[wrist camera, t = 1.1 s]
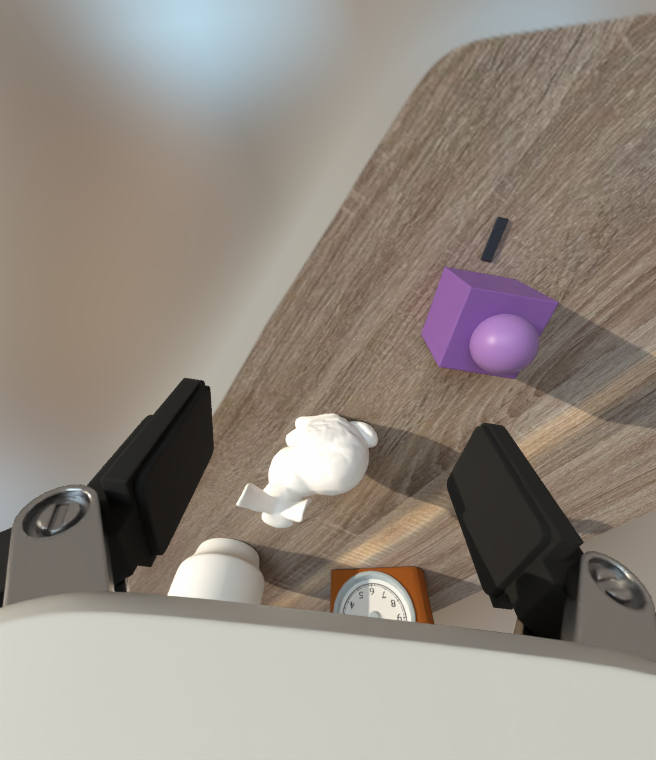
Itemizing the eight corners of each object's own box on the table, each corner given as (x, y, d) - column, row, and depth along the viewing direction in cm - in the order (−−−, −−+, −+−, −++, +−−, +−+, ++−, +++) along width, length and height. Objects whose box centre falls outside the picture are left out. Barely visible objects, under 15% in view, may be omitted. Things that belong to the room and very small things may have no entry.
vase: (257, 582, 53) (190, 895, 30) (183, 565, 51) (46, 888, 28) (279, 544, 47) (214, 907, 23) (194, 522, 45) (28, 898, 21)
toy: (444, 266, 25) (491, 302, 17) (515, 279, 25) (594, 320, 17) (420, 334, 28) (451, 391, 20) (484, 345, 28) (538, 405, 20)
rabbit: (289, 468, 38) (270, 571, 28) (252, 411, 33) (212, 509, 23) (384, 443, 35) (401, 547, 25) (357, 378, 31) (364, 472, 20)
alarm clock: (423, 564, 48) (448, 681, 37) (423, 590, 53) (446, 702, 41) (330, 568, 50) (327, 681, 39) (338, 593, 55) (337, 701, 43)
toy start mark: (497, 216, 23) (498, 217, 23) (507, 218, 23) (508, 219, 23) (480, 259, 24) (481, 259, 24) (490, 260, 24) (490, 261, 24)
